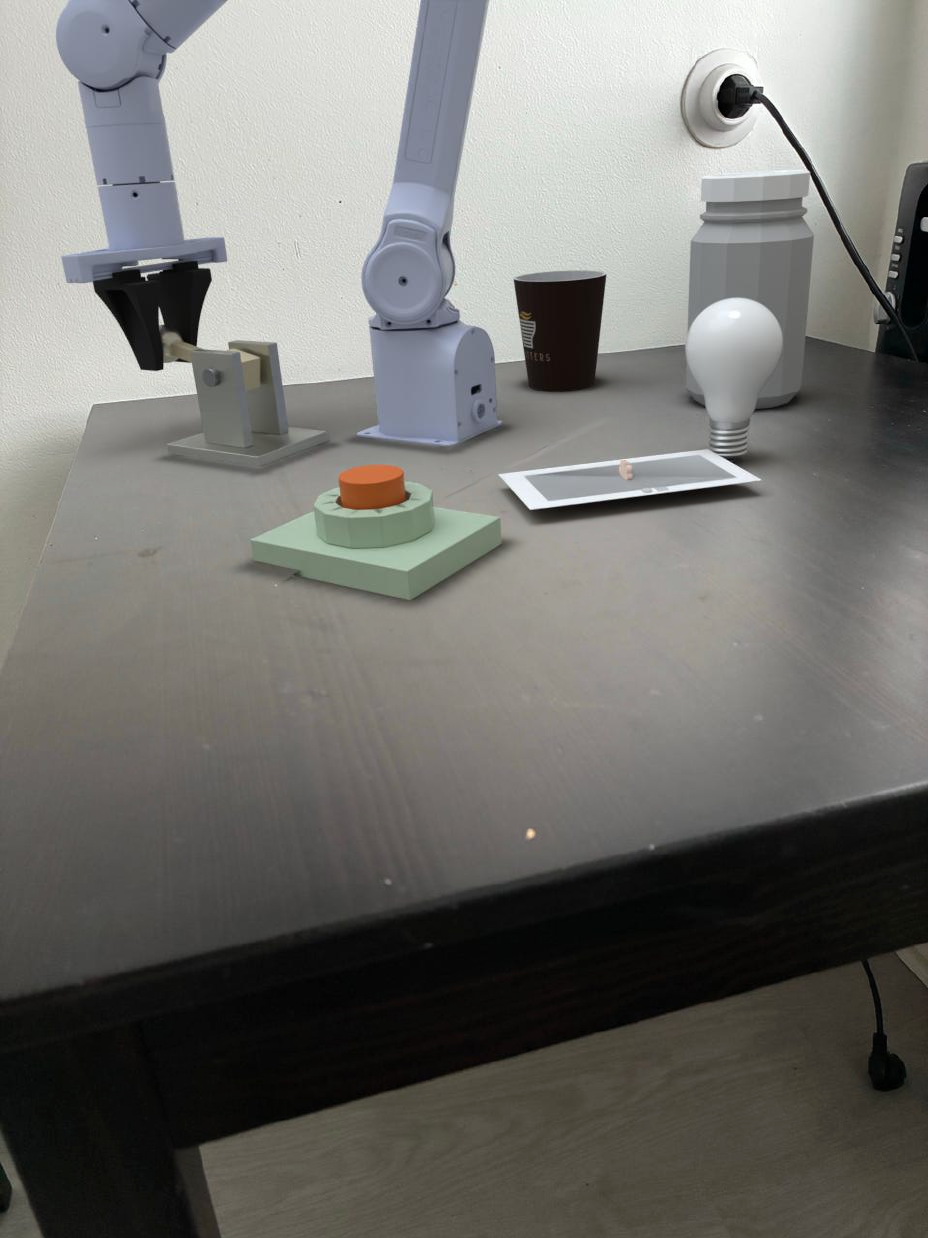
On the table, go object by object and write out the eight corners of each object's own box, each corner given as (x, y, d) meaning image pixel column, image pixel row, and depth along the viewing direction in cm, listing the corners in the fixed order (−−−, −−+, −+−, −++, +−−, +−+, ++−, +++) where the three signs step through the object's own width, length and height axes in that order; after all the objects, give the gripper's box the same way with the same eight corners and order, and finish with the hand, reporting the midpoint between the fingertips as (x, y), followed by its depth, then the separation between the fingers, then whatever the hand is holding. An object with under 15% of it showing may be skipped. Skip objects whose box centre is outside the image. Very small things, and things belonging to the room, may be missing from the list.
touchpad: (498, 489, 67) (497, 458, 66) (707, 464, 69) (708, 433, 69) (530, 526, 60) (529, 492, 59) (760, 497, 62) (763, 463, 62)
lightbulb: (781, 450, 71) (793, 290, 67) (766, 475, 66) (777, 304, 62) (693, 445, 74) (698, 291, 69) (671, 469, 69) (676, 304, 64)
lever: (138, 360, 81) (136, 323, 79) (166, 353, 83) (165, 317, 81) (236, 397, 76) (236, 359, 75) (263, 389, 78) (264, 352, 77)
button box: (501, 544, 57) (499, 486, 56) (410, 601, 51) (404, 537, 49) (354, 519, 63) (348, 465, 62) (254, 567, 56) (244, 508, 55)
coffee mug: (611, 390, 93) (611, 277, 88) (518, 395, 93) (514, 283, 89) (597, 367, 103) (597, 265, 99) (514, 371, 103) (511, 270, 99)
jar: (663, 396, 89) (668, 177, 82) (752, 382, 92) (765, 170, 85) (730, 417, 81) (744, 175, 73) (826, 400, 84) (848, 167, 77)
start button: (418, 498, 56) (416, 468, 55) (379, 517, 53) (376, 486, 53) (368, 490, 58) (365, 461, 57) (328, 509, 55) (324, 478, 55)
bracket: (168, 458, 79) (149, 352, 76) (240, 434, 85) (225, 335, 82) (260, 472, 74) (243, 359, 71) (329, 445, 80) (317, 340, 77)
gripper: (173, 181, 83) (200, 347, 89) (20, 191, 72) (62, 379, 78) (234, 177, 79) (258, 351, 85) (82, 187, 69) (121, 385, 74)
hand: (168, 365), depth 81 cm, fingers closed on lever, 3 cm apart
